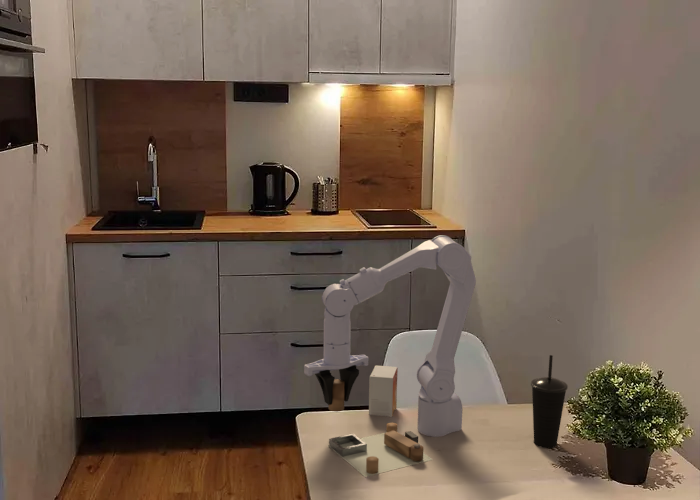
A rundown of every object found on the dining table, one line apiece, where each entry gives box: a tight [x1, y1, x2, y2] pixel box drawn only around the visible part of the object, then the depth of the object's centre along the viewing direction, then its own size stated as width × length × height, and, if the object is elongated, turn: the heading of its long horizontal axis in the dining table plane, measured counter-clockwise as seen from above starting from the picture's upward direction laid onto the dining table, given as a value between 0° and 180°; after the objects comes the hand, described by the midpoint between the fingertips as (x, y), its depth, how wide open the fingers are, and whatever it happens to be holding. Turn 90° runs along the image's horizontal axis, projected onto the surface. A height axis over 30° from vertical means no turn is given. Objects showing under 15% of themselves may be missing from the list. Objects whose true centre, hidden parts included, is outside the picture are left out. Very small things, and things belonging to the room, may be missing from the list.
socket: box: [328, 433, 367, 458], centre depth 166 cm, size 6×6×2 cm
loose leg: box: [327, 378, 345, 413], centre depth 171 cm, size 3×3×6 cm
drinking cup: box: [530, 354, 569, 449], centre depth 171 cm, size 8×8×20 cm
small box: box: [368, 365, 399, 418], centre depth 186 cm, size 8×6×10 cm
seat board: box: [328, 422, 434, 478], centre depth 165 cm, size 16×16×4 cm
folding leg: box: [383, 430, 425, 461], centre depth 165 cm, size 10×3×3 cm, turn 36°
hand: (336, 401), depth 171 cm, fingers closed on loose leg, 3 cm apart
